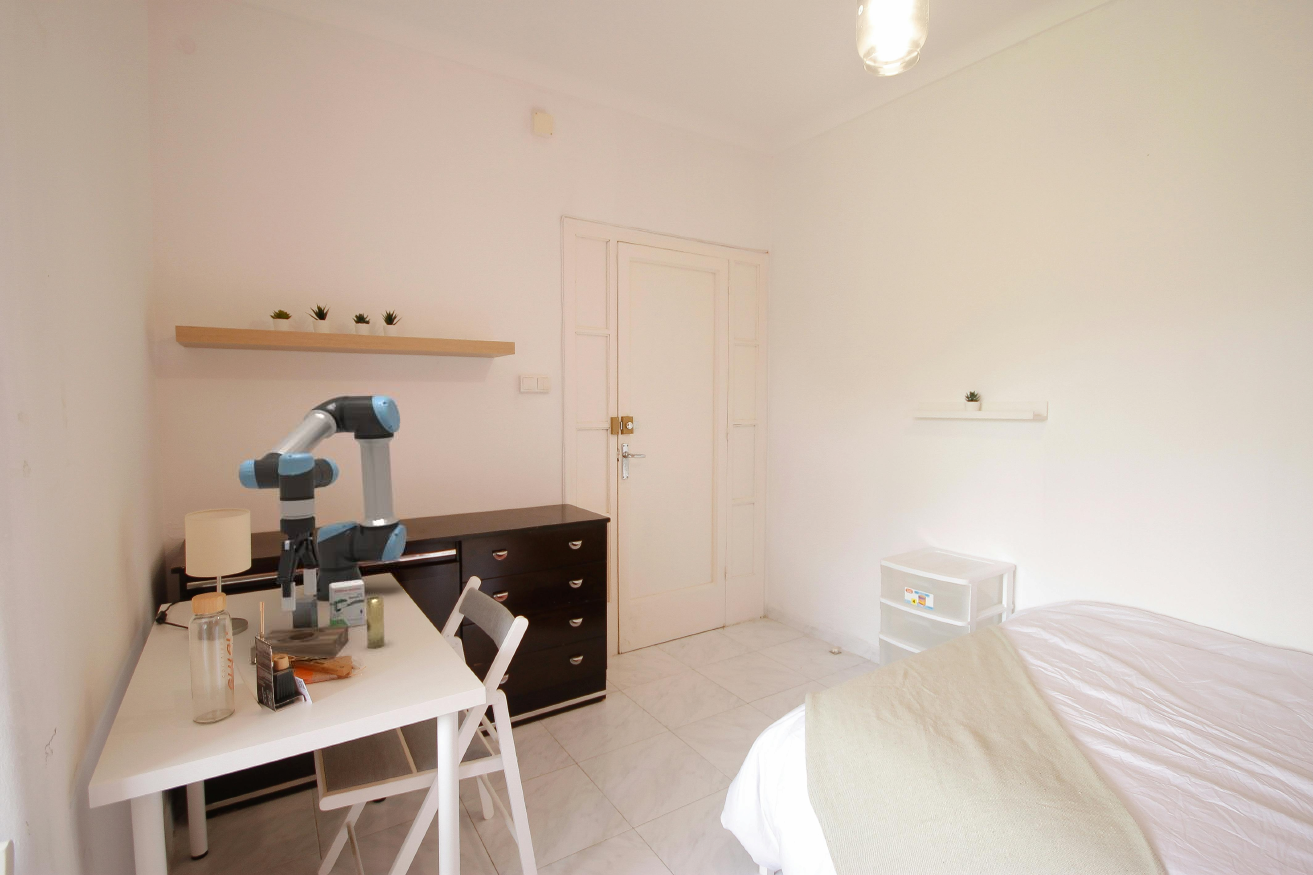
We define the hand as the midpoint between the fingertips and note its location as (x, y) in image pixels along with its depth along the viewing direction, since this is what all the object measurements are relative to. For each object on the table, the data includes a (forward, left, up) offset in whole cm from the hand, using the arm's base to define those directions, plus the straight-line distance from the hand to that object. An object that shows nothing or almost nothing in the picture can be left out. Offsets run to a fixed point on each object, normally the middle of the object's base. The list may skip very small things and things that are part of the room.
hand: (300, 602), depth 154 cm
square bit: (-11, -3, -13) cm, 17 cm away
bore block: (0, 0, -13) cm, 13 cm away
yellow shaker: (-1, +17, -13) cm, 21 cm away
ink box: (-19, +5, -13) cm, 24 cm away
